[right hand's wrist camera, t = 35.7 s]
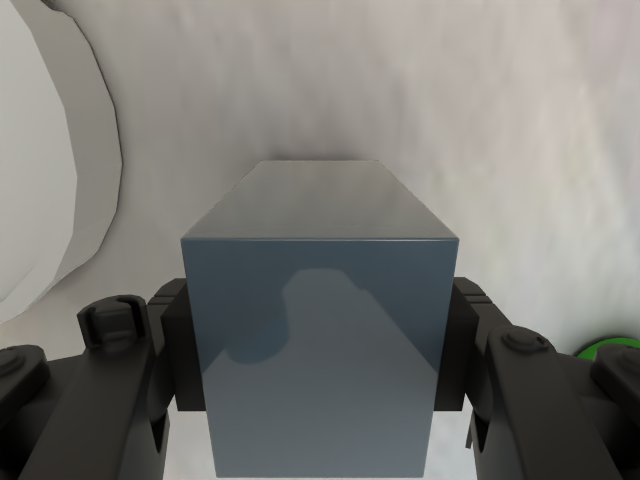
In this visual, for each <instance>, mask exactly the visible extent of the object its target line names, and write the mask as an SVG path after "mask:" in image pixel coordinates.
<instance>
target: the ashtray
mask: <svg viewBox="0 0 640 480" xmlns="http://www.w3.org/2000/svg"><path fill="white" fill-rule="evenodd" d="M121 169H122V159H121V152H120V145H119V138H118V131H117V124H116V117H115V110H114V106H113V103H112V101H111V98H110V95H109V93H108V90H107V88H106V85H105V83H104V80H103V78H102V75H101V72H100V70H99V67H98V65H97V62H96V60H95V57H94V55H93V52H92V50H91V47H90V45H89V43H88V42H87V40H86V39H85V37H84V36H83V34H82V33H81V31H80V29H79V28H78V26H77V25H76V23H75V22H74V20H73V19H72V18H71V17H69V16H67V15H66V14H64V13H63V12H60V11H55V10H51V9H50V8H48V7H47V6H46V5H45V4H44V3H43V2H42V1H40V0H0V324H2V323H4V322H6V321H8V320H10V319H12V318H14V317H16V316H18V315H20V314H22V313H23V312H24V311H26V310H27V309H29V308H30V307H32V306H33V305H34V304H36V303H37V302H38V301H39V300H40V299H41V298H42V297H43V296H44V295H45V294H46V293H47V292H48V291H49V290H50V289H51V288H52V287H53V286H54V285H56V284H57V283H58V282H59V281H60V280H61V279H63V278H64V277H65V276H66V275H67V274H69V273H70V272H71V271H73V270H74V269H76V268H77V267H79V266H81V265H82V264H84V263H85V262H86V261H88V260H89V259H90V258H91V257H92V256H93V255H94V254H95V253H96V252H97V251H98V250H99V247H100V245H101V243H102V241H103V239H104V237H105V235H106V232H107V230H108V228H109V226H110V224H111V222H112V219H113V217H114V215H115V213H116V208H117V200H118V193H119V185H120V177H121Z"/></svg>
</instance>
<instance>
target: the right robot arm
mask: <svg viewBox="0 0 640 480" xmlns="http://www.w3.org/2000/svg"><path fill="white" fill-rule="evenodd" d="M77 318H78V322H79V325H80V329H81V332H82V335H83V339H84V342H85V346H86V349H85V350H84V352H83V354H82V355H78V356H73V357H68V358H63V359H58V360H52V361H47V359H46V356H45V353H44V350H43V349H42V348H40V347H39V346H36V345H20V346H12V347H8V348H7V349H5V348H4V349H1V350H0V480H163V473H164V465H165V458H166V450H167V442H168V435H169V427H170V422H169V415H168V411H167V408H168V406H169V404H170V402H171V400H172V398H173V396H174V394H175V398H176V404H177V409H178V411H206V405H205V398H204V392H203V385H202V379H201V372H200V366H199V359H198V352H197V346H196V339H195V333H194V326H193V319H192V313H191V306H190V300H189V293H188V287H187V280H186V278H175V279H174V280H172V281H170V282H168V283H167V284H165V285H163V286H162V287H161V288H160V289H159V290H158V292H157V293H156V294H155V295H154V297H152V298H151V300H150V301H149V302H148V305H146V302H145V300H144V299H143V298H141V297H140V296H135V295H117V296H112V297H108V298H104V299H101V300H99V301H96V302H93V303H92V304H90V305H88V306H86V307H85V308H83V309H82V310H81V311H80V312H79V313H78V314H77ZM465 393H466V395H467V397H468V399H469V401H470V403H471V405H472V406H473V411H472V415H471V420H470V425H469V430H468V435H467V440H466V447H465V448H469V449H470V448H471V444H472V441H473V449H474V457H475V464H476V472H477V480H640V348H639V347H634V346H632V345H627V344H618V343H607V344H602V345H601V346H599V347H598V348H597V349H596V352H595V355H594V358H593V360H591V359H586V358H581V357H575V356H570V355H565V354H561V353H557V352H556V350H555V348H554V346H553V345H552V344H551V343H550V342H549V340H548V339H546V338H545V337H543V336H542V335H540V334H539V333H537V332H534V331H532V330H530V329H527V328H524V327H520V326H515V325H512V323H511V322H510V321H509V320H508V319H507V318H506V317H505V315H504V314H503V313H502V312H501V311H500V310H499V309H498V307H497V306H496V305H495V304H493V303H492V301H491V299H490V298H489V297H488V296H486V294H485V293H484V291H483V290H482V289H481V288H480V287H479V286H478V285H477V284H475V283H474V282H472V281H470V280H468V279H467V278H465V277H454V278H453V285H452V291H451V298H450V304H449V311H448V318H447V324H446V331H445V337H444V344H443V350H442V357H441V364H440V370H439V377H438V383H437V390H436V396H435V403H434V410H433V411H462V408H463V402H464V397H465Z"/></svg>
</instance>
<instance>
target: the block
mask: <svg viewBox="0 0 640 480" xmlns="http://www.w3.org/2000/svg"><path fill="white" fill-rule="evenodd" d="M180 241H181V247H182V254H183V260H184V267H185V273H186V280H187V287H188V293H189V300H190V306H191V313H192V319H193V326H194V333H195V339H196V346H197V352H198V359H199V366H200V372H201V379H202V385H203V392H204V398H205V405H206V412H207V418H208V425H209V431H210V438H211V444H212V451H213V458H214V464H215V471H216V477H217V478H422V477H423V475H424V469H425V462H426V456H427V449H428V442H429V436H430V429H431V423H432V416H433V410H434V403H435V396H436V390H437V383H438V377H439V370H440V364H441V357H442V350H443V344H444V337H445V331H446V324H447V318H448V311H449V304H450V298H451V291H452V285H453V278H454V272H455V265H456V258H457V252H458V245H459V238H458V237H457V236H456V235H455V234H454V233H453V232H452V231H451V230H450V229H449V228H448V227H447V226H446V225H445V224H444V223H443V222H442V221H441V220H440V219H439V218H437V217H436V216H435V215H434V214H433V213H432V212H431V211H430V210H429V209H428V208H427V207H426V206H425V205H424V204H423V203H422V202H421V201H420V200H419V199H418V198H417V197H416V196H415V195H414V194H413V193H412V192H411V191H410V190H408V189H407V188H406V187H405V186H404V185H403V184H402V183H401V182H400V181H399V180H398V179H397V178H396V177H395V176H394V175H393V174H392V173H391V172H390V171H389V170H388V169H387V168H386V167H385V166H384V165H383V164H382V163H381V162H379V161H378V160H262V161H260V162H259V163H258V164H257V165H256V166H255V167H254V168H253V169H252V170H251V171H250V172H249V173H248V174H247V175H246V176H245V177H244V178H243V179H242V180H241V181H240V182H239V183H238V184H237V185H236V186H234V187H233V188H232V189H231V190H230V191H229V192H228V193H227V194H226V195H225V196H224V197H223V198H222V199H221V200H220V201H219V202H218V203H217V204H216V205H215V206H214V207H213V208H212V209H211V210H209V211H208V212H207V213H206V214H205V215H204V216H203V217H202V218H201V219H200V220H199V221H198V222H197V223H196V224H195V225H194V226H193V227H192V228H191V229H190V230H189V231H188V232H187V233H186V234H185V235H183V236H182V237H181V239H180Z"/></svg>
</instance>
